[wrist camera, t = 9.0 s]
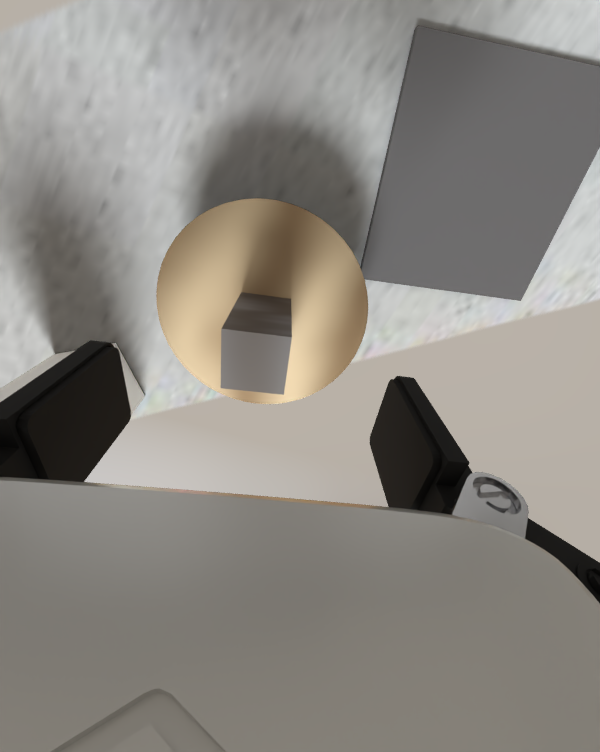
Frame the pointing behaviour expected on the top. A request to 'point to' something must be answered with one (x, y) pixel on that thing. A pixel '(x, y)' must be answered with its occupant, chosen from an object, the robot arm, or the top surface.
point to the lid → (262, 301)
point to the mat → (480, 164)
